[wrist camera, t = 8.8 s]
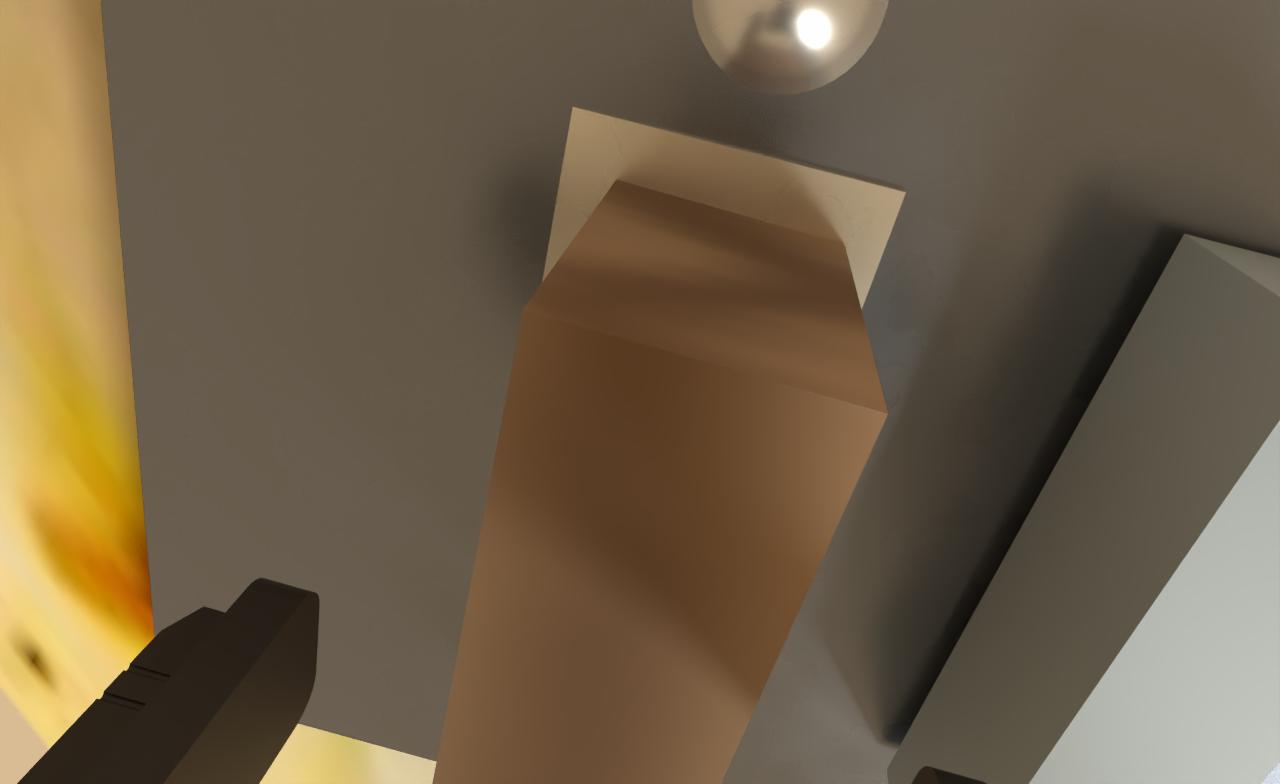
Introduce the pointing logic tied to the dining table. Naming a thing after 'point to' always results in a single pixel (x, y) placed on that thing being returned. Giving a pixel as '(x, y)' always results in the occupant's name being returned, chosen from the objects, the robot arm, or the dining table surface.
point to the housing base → (551, 218)
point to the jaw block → (657, 495)
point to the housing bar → (1140, 566)
